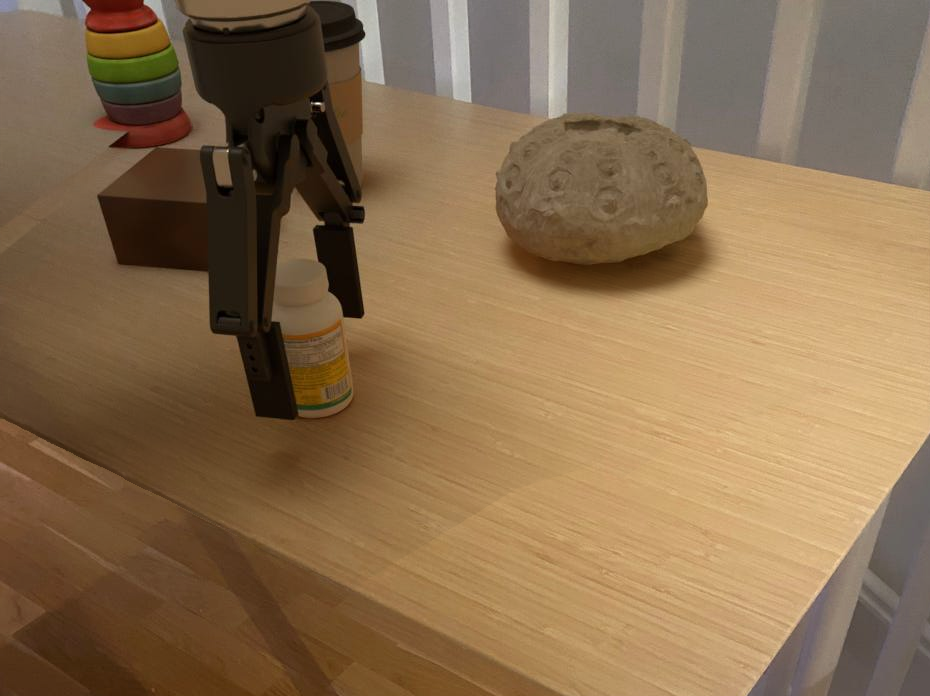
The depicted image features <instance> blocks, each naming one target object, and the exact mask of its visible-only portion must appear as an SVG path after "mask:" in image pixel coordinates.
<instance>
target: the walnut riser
mask: <svg viewBox="0 0 930 696" xmlns="http://www.w3.org/2000/svg"><path fill="white" fill-rule="evenodd" d="M200 150H201V149H191V148H176V147H159V146H158V147H157V146H155V148H153V149H152V150H151V151H149V152H148V153H147V154H146V155H144V156H143V157H142V158H141V159H139V160H138V161H137V162H135V164H133V165H132V166H131V167H129V169H127V170H126V171H124V173H122V174H121V175H120V176H118V177H117V178H116V179H114V180H113V182H111V183H110V184H109V185H108V186H107V187H105V188H104V189H103V190H101V191H100V192H99V193H98V194H97V195H96V197H97V198H96V199H97V201H98V204H99V207H100V210H101V213H102V217H103V220H104V222H105V226H106V229H107V233H108V235H109V239H110V242H111V246H112V248H113V252H114V255H115V259H116V262H117V264H124V265H132V266H133V265H134V266H147V267H157V268H169V269H170V268H171V269H180V270H181V269H182V270H191V271H192V270H194V271H204V272H206V271H207V272H208V240H207V202H206V189H205V183H204V178H203V172H202V167H201V162H200Z"/></svg>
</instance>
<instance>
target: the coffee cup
mask: <svg viewBox="0 0 930 696" xmlns="http://www.w3.org/2000/svg"><path fill="white" fill-rule="evenodd" d="M307 5H308V6H310V7H312V8H313V9H314V10H315V12H316V13H317V14H318V15H319V17H320V22H321V29H322V36H323V44H324V51H325V58H326V65H327V72H328V77H327V79H328V84H329V90H330V95H331V101H332V106H333V110H334V113H335V116H336V118H337V121H338V124H339V127H340V130H341V133H342V136H343V138H344V141H345V144H346V147H347V150H348V153H349V156H350V158H351V161H352V164H353V167H354V170H355V173H356V175H357V178H358V181H359V184H360V187H361V188H362V186H363V143H362V141H363V140H362V139H363V138H362V136H363V133H364V126H363V125H364V123H363V122H364V121H363V119H364V118H363V81H362V67H361V63H360V42H362V41H363V40H364V39H365V38H366V31H365V30H364V24H363V22H362V20H360V19H358V18H357V16H356V11H355V9H354V7H353V6H352V5H351V4H348V3H345V2H341V1H335V0H311V1H310V3H308V4H307ZM338 182H339V183H340V184H344V183H343V182H342V181H338Z"/></svg>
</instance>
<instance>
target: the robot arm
mask: <svg viewBox="0 0 930 696" xmlns="http://www.w3.org/2000/svg"><path fill="white" fill-rule="evenodd" d="M310 1H312V0H174V4H175V6H176V7H175V8H176V10H177V11H179V13H181V14H182V15H183V16H185V17H187V18H188V19H187V20H186V21H185V24H184V26H183V29H182V37H183V40H184V45H185V49H186V53H187V58H188V60H189V61H188V62H189V66H190V71H191V75H192V79H193V82H194V88H195V90H196V93H197V95H198V96H199V97H200V98H201V99H202V100H203V101H205V102H206V103H208V104H211V105H212V106H215V107H216V108H218V109H219V110H220V111H221V113H222V114H223V116H224V124H225V144H223V145H210V144H209V145H207V144H205V145H204V144H203V145H202V146H201V147H200V149H199V150H200V162H201V167H202V172H203V178H204V183H205V189H206V202H207V240H208V271H207V272H208V274H207V275H208V276H207V277H208V311H209V328H210V331H211V332H212V334H214V335H221V336H232V337H233V336H235V338H236V341H237V344H238V348H239V354H240V357H241V361H242V365H243V370H244V374H245V378H246V381H247V382H246V383H247V385H248V389H249V394H250V398H251V402H252V403H251V404H252V407H253V410H254V414H255V415H254V416H255V417H257V418H266V419H274V420H275V419H276V420H285V421H295V420H296V419H297V417H299V416H298V409H297V404H296V399H295V394H294V389H293V384H292V380H291V375H290V370H289V365H288V360H287V355H286V350H285V345H284V341H283V336H282V331H281V326H280V322H276V321H272V310H273V299H274V289H275V278H276V267H277V263H278V258H279V257H278V256H279V245H280V234H281V224H282V218H283V217H285V216H286V215H288V213H289V212H290V209H291V204H292V203H291V201H292V193H293V192H294V189H296V191H297V192H298V194H299V195H300V197H301V198H302V200H303V201H304V203H305V204H306V205H307V207H308V209H310V211H311V212H312V213H313V215H314V216H315V218H316V219H317V221H319V222H323V223H324V224H315V226H314V227H313V228H312V234H313V239H314V246H315V251H316V257H317V261H318V262H320V263H322V264H323V265H324V266H325V268H326V273H327V279H328V283H329V287H328V292H330V293H331V294H333V295H334V296H335V297H336V298H337V299H338V301H339V302H340V304H341V307H342V313H343V318H344V319H345V318H348V319H360V320H362V319H363V317H364V316H365V307H364V300H363V291H362V285H361V277H360V270H359V263H358V256H357V255H358V254H357V248H356V241H355V234H354V227H353V226H351V224H356V225H357V224H359V225H363V224H364V223H365V220H366V210H365V206H364V205H353V204H360V203H361V201H362V198H363V192H362V186H361V187H360V184H359V181H358V178H357V175H356V173H355V170H354V167H353V164H352V161H351V158H350V156H349V153H348V150H347V147H346V144H345V141H344V138H343V136H342V133H341V130H340V127H339V124H338V121H337V118H336V116H335V113H334V110H333V106H332V101H331V95H330V90H329V84H328V79H327V77H328V72H327V65H326V58H325V51H324V44H323V36H322V29H321V22H320V17H319V15H318V14H317V13H316V12H315V10H314V9H313V8H312V7H310V6H308V5H307V4H308V3H310ZM338 181H342V182H343V183H344V184H340V183H339V182H338Z"/></svg>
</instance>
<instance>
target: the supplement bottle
mask: <svg viewBox="0 0 930 696" xmlns="http://www.w3.org/2000/svg"><path fill="white" fill-rule="evenodd" d="M328 287H329V283H328V279H327V273H326V268H325V266H324V265H323V264H322V263H320V262H318V260H315V259H311V258H310V259H309V258H291V259H285V260H282V261H279V262H278V261H277V267H276V278H275V289H274V299H273V310H272V321H276V322H280V326H281V331H282V336H283V341H284V345H285V350H286V355H287V360H288V365H289V370H290V375H291V380H292V384H293V389H294V394H295V399H296V404H297V409H298V416H297V417H300V418H306V419H318V418H325V417H330V416H332V415H335V414H337V413H339V412H341V411H343V410H345V408H347V406H349V405H350V403H351V402H352V400H353V397H354V393H355V392H354V382H353V377H352V371H351V362H350V355H349V349H348V341H347V335H346V327H345V321H344V319H345V318H344V317H343V313H342V307H341V304H340V302H339V301H338V299H337V298H336V297H335V296H334V295H333V294H331V293H330V292H328Z"/></svg>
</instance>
